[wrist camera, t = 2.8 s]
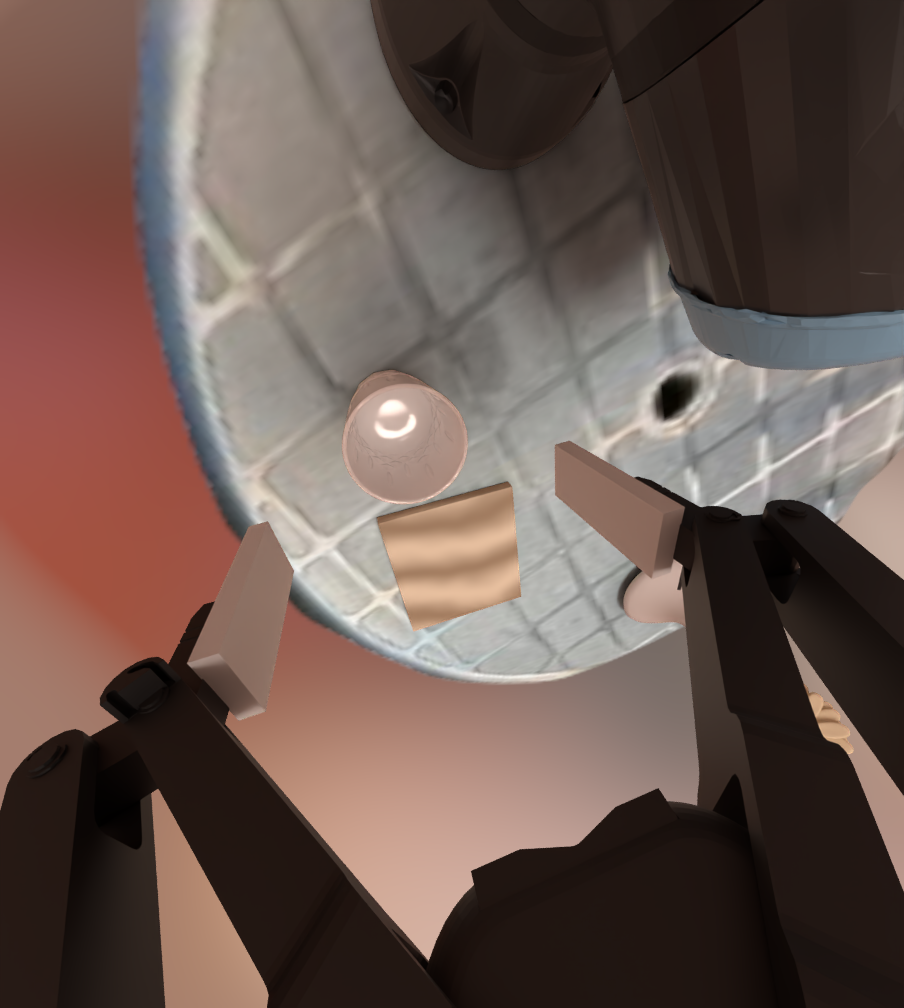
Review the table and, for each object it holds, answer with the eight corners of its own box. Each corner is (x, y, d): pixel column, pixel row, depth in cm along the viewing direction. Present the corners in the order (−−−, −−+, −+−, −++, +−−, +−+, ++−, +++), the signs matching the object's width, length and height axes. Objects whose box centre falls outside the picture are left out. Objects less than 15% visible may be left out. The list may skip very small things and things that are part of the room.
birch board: (377, 517, 35) (378, 523, 34) (507, 481, 37) (512, 486, 36) (412, 623, 43) (413, 631, 42) (517, 590, 45) (521, 596, 44)
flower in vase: (697, 550, 51) (946, 722, 30) (664, 609, 56) (856, 791, 35) (624, 552, 47) (850, 751, 26) (596, 615, 52) (765, 824, 31)
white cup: (336, 442, 30) (331, 493, 22) (354, 348, 27) (357, 365, 19) (421, 461, 33) (446, 512, 25) (446, 378, 30) (485, 404, 22)
